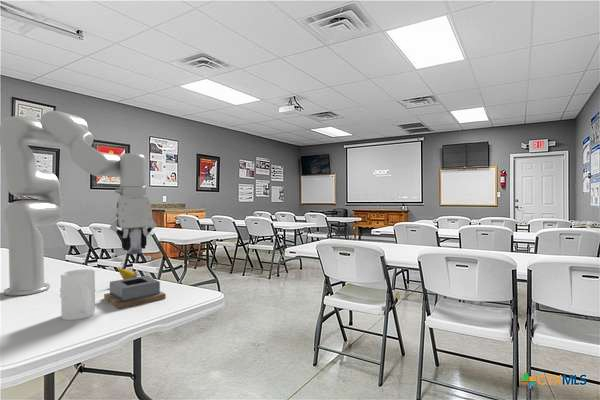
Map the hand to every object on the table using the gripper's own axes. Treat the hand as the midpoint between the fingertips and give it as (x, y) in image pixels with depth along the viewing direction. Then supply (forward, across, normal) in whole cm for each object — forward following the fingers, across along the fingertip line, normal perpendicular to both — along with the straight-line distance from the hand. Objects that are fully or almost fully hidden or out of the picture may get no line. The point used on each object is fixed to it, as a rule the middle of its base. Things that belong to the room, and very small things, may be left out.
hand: (134, 248), depth 111 cm
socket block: (+15, 0, 0) cm, 15 cm away
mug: (+16, -17, -6) cm, 24 cm away
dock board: (+16, 0, 0) cm, 16 cm away
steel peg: (+1, 0, 0) cm, 1 cm away
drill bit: (+16, +5, +20) cm, 26 cm away
